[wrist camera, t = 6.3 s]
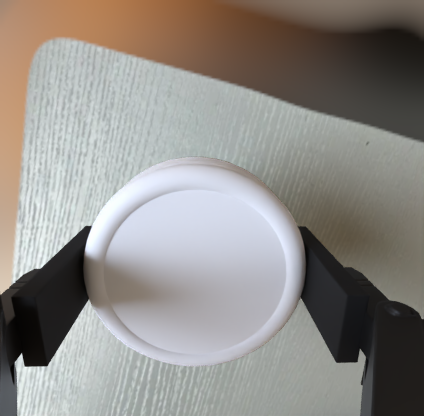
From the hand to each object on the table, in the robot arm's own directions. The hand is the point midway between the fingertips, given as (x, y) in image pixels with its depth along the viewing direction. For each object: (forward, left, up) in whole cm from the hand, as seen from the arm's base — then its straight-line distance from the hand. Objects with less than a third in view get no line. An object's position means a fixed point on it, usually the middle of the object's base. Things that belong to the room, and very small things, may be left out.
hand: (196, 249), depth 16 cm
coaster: (0, 0, 0) cm, 0 cm away
